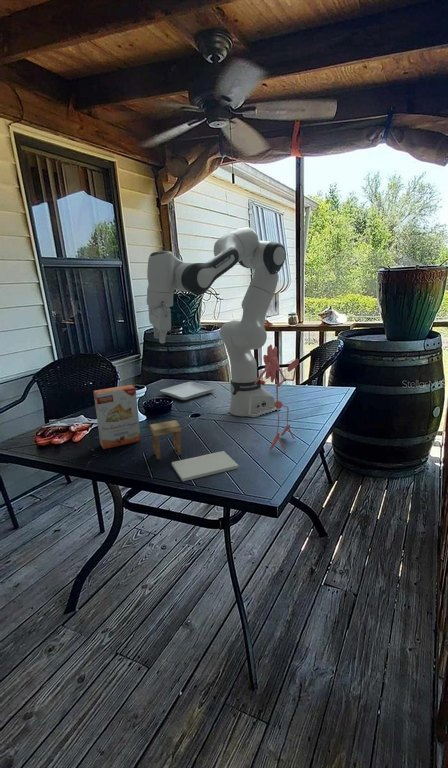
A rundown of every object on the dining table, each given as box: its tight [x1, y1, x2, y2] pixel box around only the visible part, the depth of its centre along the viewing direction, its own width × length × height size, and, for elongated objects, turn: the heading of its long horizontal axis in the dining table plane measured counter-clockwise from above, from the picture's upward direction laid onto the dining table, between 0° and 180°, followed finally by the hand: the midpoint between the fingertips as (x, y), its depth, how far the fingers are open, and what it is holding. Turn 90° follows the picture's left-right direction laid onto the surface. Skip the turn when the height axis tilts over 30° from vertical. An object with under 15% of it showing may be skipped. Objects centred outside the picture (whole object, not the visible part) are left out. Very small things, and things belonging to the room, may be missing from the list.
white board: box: [171, 450, 239, 482], centre depth 127 cm, size 18×12×1 cm, turn 112°
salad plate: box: [159, 381, 216, 401], centre depth 207 cm, size 21×21×3 cm
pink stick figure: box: [254, 344, 300, 451], centre depth 137 cm, size 15×26×35 cm, turn 150°
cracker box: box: [93, 384, 141, 450], centre depth 146 cm, size 14×6×21 cm, turn 117°
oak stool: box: [149, 419, 183, 460], centre depth 136 cm, size 9×6×10 cm, turn 112°
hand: (159, 340), depth 142 cm, fingers open, 8 cm apart
